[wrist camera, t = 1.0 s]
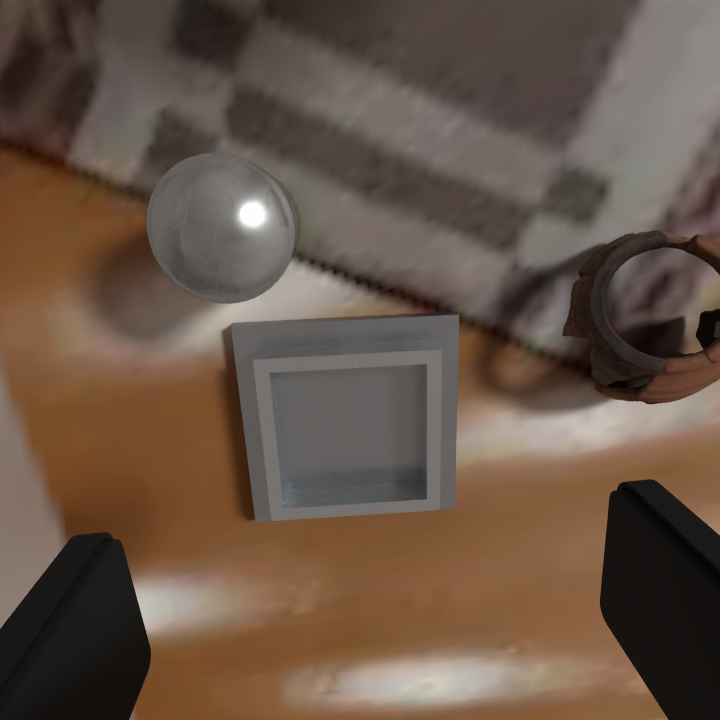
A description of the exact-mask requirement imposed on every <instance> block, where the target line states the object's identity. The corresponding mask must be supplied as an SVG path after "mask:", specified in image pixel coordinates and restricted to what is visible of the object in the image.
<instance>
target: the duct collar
mask: <svg viewBox="0 0 720 720" xmlns="http://www.w3.org/2000/svg"><path fill="white" fill-rule="evenodd" d="M231 332H232V340H233V348H234V356H235V364H236V372H237V380H238V388H239V396H240V403H241V411H242V419H243V427H244V435H245V443H246V451H247V459H248V467H249V475H250V482H251V490H252V498H253V506H254V514H255V522H256V521H278V520H293V519H308V518H324V517H339V516H354V515H369V514H384V513H399V512H415V511H430V510H440V509H453V508H455V472H456V427H457V383H458V338H459V314H458V313H457V312H438V313H419V314H400V315H380V316H361V317H341V318H322V319H303V320H283V321H264V322H245V323H233V324H232V326H231Z"/></svg>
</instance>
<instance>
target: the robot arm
mask: <svg viewBox="0 0 720 720" xmlns="http://www.w3.org/2000/svg"><path fill="white" fill-rule="evenodd" d="M600 607H601V612H602V615H603V618H604V620H605V622H606V624H607V625H608V627H609V628H610V630H611V631H612V633H613V635H614V636H615V638H616V639H617V641H618V642H619V644H620V645H621V647H622V648H623V650H624V652H625V653H626V655H627V656H628V658H629V659H630V661H631V662H632V664H633V665H634V667H635V669H636V670H637V672H638V673H639V675H640V676H641V678H642V679H643V681H644V682H645V684H646V686H647V687H648V689H649V690H650V692H651V693H652V695H653V696H654V698H655V699H656V701H657V703H658V704H659V706H660V707H661V709H662V710H663V712H664V713H665V715H666V716H667V718H668V719H669V720H720V535H718V534H717V533H716V532H715V531H714V530H713V529H712V528H710V527H709V526H708V525H707V524H706V523H705V522H703V521H702V520H701V519H700V518H699V517H698V516H696V515H695V514H694V513H693V512H692V511H691V510H690V509H688V508H687V507H686V506H685V505H684V504H683V503H681V502H680V501H679V500H678V499H677V498H676V497H674V496H673V495H672V494H671V493H670V492H669V491H668V490H666V489H665V488H664V487H663V486H662V485H661V484H659V483H658V482H657V481H655V480H651V479H649V480H639V481H629V482H622V483H620V484H619V486H618V488H617V491H613V492H612V493H611V494H610V498H609V509H608V520H607V530H606V541H605V552H604V562H603V573H602V584H601V595H600ZM150 660H151V650H150V645H149V641H148V637H147V634H146V630H145V626H144V623H143V619H142V615H141V612H140V608H139V604H138V601H137V597H136V593H135V589H134V586H133V582H132V578H131V575H130V571H129V567H128V564H127V560H126V556H125V553H124V549H123V545H122V543H121V541H120V540H118V539H114V540H113V537H112V536H111V535H110V534H109V533H107V532H103V533H93V534H83V535H76V536H73V537H72V538H71V539H70V540H69V541H68V543H67V544H66V545H65V546H64V548H63V549H62V550H61V552H60V553H59V554H58V555H57V557H56V558H55V559H54V561H53V562H52V563H51V564H50V566H49V567H48V568H47V570H46V571H45V572H44V573H43V575H42V576H41V577H40V579H39V580H38V581H37V582H36V584H35V585H34V586H33V588H32V589H31V590H30V591H29V593H28V594H27V595H26V597H25V598H24V599H23V600H22V602H21V603H20V604H19V606H18V607H17V608H16V609H15V611H14V612H13V613H12V615H11V616H10V617H9V618H8V620H7V621H6V622H5V623H4V625H3V626H2V628H1V629H0V720H129V719H130V716H131V713H132V711H133V708H134V706H135V703H136V701H137V698H138V696H139V693H140V691H141V688H142V685H143V683H144V680H145V678H146V675H147V673H148V670H149V666H150Z"/></svg>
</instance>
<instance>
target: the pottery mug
mask: <svg viewBox="0 0 720 720" xmlns="http://www.w3.org/2000/svg"><path fill="white" fill-rule="evenodd" d="M662 247H669V248H677V249H681V250H684V251H686V252H688V253H690V254H693V255H695V256H697V257H699V258H701V259H702V260H704V261H705V262H707V263H708V264H709V265H710V266H712V267H713V268H714V269H715V270H716V271H717V272H718V274H719V275H720V243H718V242H716V241H714V240H712V239H710V238H708V237H705V236H703V235H695V236H694V237H692V238H691V239H689V238H685V237H680V236H678V235H675V234H672V233H667V232H660V231H658V230H655V231H650V232H641V233H638V234H634V233H631V234H627V235H624V236H622V237H620V238H618V239H616V240H614V241H613V242H611V243H609V244H608V245H606V246H605V247H603V248H602V249H600V250H599V251H598V252H597V253H596V254H594V255H593V256H592V257H591V258H590V259H589V261H588V262H587V263H586V264H585V265H584V266H583V267H582V268H581V270H580V272H579V275H580V277H581V278H580V279H579V280H577V281H576V282H575V283H574V285H573V289H572V293H571V302H570V304H571V305H570V310H569V315H568V318H567V322H566V323H565V325H564V329H563V334H562V335H563V336H574V337H581V338H587V339H591V340H593V341H594V345H593V347H592V349H591V350H590V362H591V365H592V371H591V375H592V377H593V378H595V379H596V380H597V381H598V382H600V383H601V384H603V385H609V384H611V383H613V382H615V381H624V380H629V379H631V378H634V377H640V376H644V375H650V374H651V377H650V380H649V381H648V383H647V384H644V385H642V386H639V387H634V388H612V387H607V386H603V385H597V386H596V388H595V389H596V390H597V391H598V392H599V393H600V394H602V395H604V396H607V397H609V398H612V399H617V400H624V401H642V402H645V403H647V404H657V403H663V402H664V403H667V402H672V401H676V400H680V399H682V398H685V397H687V396H690V395H692V394H694V393H696V392H698V391H700V390H702V389H703V388H705V387H707V386H709V385H711V384H712V383H713V382H716V381H717V380H718V379H720V309H715V310H713V311H704V312H702V313H701V314H700V321H699V327H698V329H697V332H696V337H697V339H698V340H699V342H700V344H701V346H702V348H703V349H704V350H702V351H700V352H697V353H694V354H693V353H691V354H683V353H679V352H676V353H674V354H673V356H672V358H659V357H655V356H651V355H648V354H645V353H642V352H640V351H638V350H636V349H634V348H633V347H631V346H630V345H629V344H627V343H626V342H625V341H624V340H623V339H622V338H621V337H620V336H619V335H618V334H617V333H616V332H615V330H614V329H613V328H612V327H611V325H610V323H609V319H608V317H607V310H606V304H605V297H606V290H607V287H608V284H609V282H610V280H611V278H612V276H613V275H614V273H615V272H616V271H617V270H618V269H619V267H620V266H621V265H622V264H624V263H625V262H626V261H627V260H629V259H630V258H632V257H633V256H635V255H638V254H640V253H643V252H646V251H649V250H654V249H659V248H662Z"/></svg>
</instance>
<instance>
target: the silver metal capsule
mask: <svg viewBox="0 0 720 720" xmlns="http://www.w3.org/2000/svg"><path fill="white" fill-rule="evenodd" d="M147 234H148V239H149V243H150V246H151V249H152V252H153V254H154V256H155V258H156V260H157V262H158V264H159V265H160V267H161V268H162V270H163V271H164V272H165V274H166V275H167V276H168V277H169V278H170V279H171V280H172V281H173V282H174V283H175V284H176V285H177V286H179V287H180V288H182V289H183V290H184V291H186V292H188V293H190V294H191V295H193V296H195V297H198V298H200V299H203V300H206V301H210V302H216V303H238V302H243V301H247V300H250V299H252V298H255V297H257V296H259V295H261V294H262V293H264V292H266V291H267V290H268V289H270V288H271V287H272V286H273V285H274V284H275V283H276V282H277V281H278V280H279V279H280V277H281V276H282V275H283V273H284V272H285V270H286V268H287V267H288V265H289V263H290V260H291V258H292V255H293V252H294V250H295V248H296V246H297V243H298V240H299V236H300V215H299V211H298V207H297V205H296V202H295V200H294V198H293V197H292V195H291V194H290V192H289V191H288V189H287V188H286V187H285V186H284V185H283V184H282V183H281V182H280V181H278V180H277V179H276V178H274V177H272V176H271V175H269V174H268V173H267V172H266V171H264V170H263V169H262V168H260V167H259V166H257V165H255V164H254V163H251V162H249V161H247V160H245V159H243V158H240V157H237V156H234V155H229V154H223V153H207V154H200V155H196V156H192V157H190V158H187V159H185V160H183V161H181V162H179V163H178V164H176V165H175V166H173V167H172V168H171V169H170V170H169V171H167V172H166V174H165V175H164V176H163V177H162V178H161V179H160V181H159V182H158V184H157V185H156V187H155V189H154V191H153V193H152V195H151V198H150V202H149V205H148V211H147Z"/></svg>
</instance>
